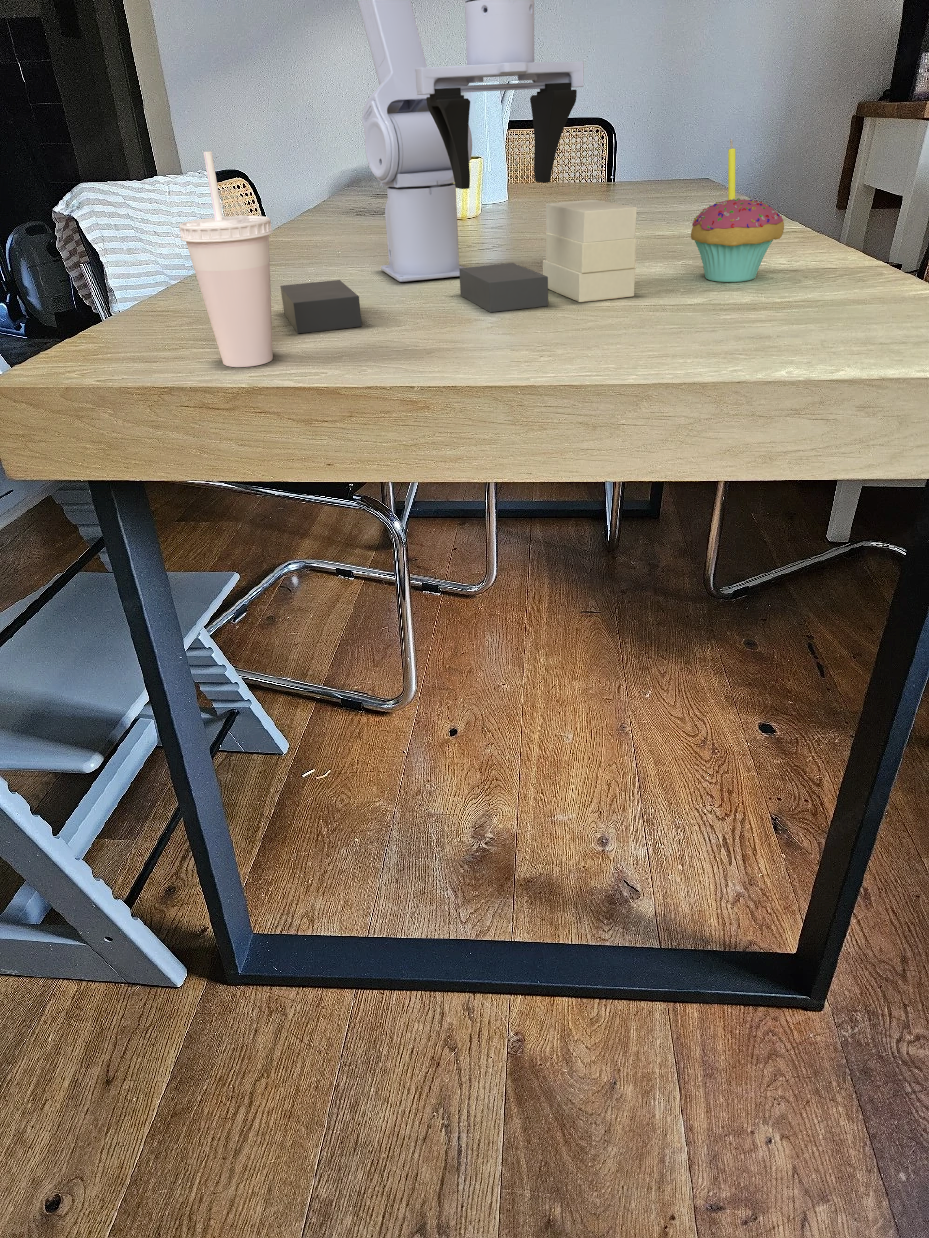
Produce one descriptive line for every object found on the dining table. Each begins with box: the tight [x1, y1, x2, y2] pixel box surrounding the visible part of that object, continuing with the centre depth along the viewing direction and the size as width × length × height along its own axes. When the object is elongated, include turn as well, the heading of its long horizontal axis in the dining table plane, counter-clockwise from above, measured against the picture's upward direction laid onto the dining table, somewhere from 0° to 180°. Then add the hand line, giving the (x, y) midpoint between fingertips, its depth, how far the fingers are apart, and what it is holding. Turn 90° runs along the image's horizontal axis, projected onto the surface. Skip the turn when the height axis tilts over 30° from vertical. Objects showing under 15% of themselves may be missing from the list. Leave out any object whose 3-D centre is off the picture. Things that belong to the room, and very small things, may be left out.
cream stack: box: [542, 232, 637, 303], centre depth 83 cm, size 9×6×5 cm, turn 17°
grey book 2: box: [459, 262, 549, 313], centre depth 82 cm, size 9×6×2 cm, turn 17°
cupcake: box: [690, 139, 785, 283], centre depth 84 cm, size 9×8×12 cm
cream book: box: [545, 199, 638, 243], centre depth 81 cm, size 9×5×2 cm, turn 17°
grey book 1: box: [279, 279, 363, 335], centre depth 78 cm, size 9×6×2 cm, turn 17°
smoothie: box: [178, 150, 274, 368], centre depth 63 cm, size 6×6×14 cm
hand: (503, 185), depth 80 cm, fingers open, 7 cm apart
